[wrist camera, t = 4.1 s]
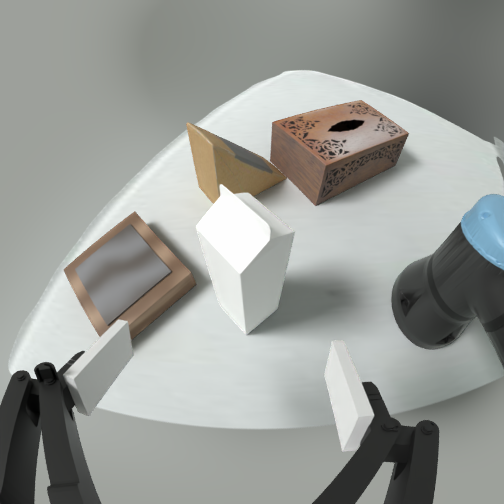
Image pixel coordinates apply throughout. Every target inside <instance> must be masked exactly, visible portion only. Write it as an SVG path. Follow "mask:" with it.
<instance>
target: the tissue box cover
mask: <svg viewBox="0 0 504 504" xmlns="http://www.w3.org/2000/svg"><path fill="white" fill-rule="evenodd" d="M408 134H409V133H408V132H407V131H405V130H404V129H403V128H401V127H400V126H399V125H397V124H396V123H394V122H393V121H392V120H390V119H389V118H387V117H386V116H384V115H383V114H382V113H380V112H379V111H377V110H376V109H374V108H373V107H371V106H370V105H368V104H366V103H365V102H363V101H362V100H359V101H354V102H349V103H344V104H340V105H335V106H331V107H327V108H323V109H318V110H314V111H310V112H307V113H303V114H299V115H295V116H292V117H288V118H285V119H281V120H278V121H275V122H272V139H271V157H270V161H271V162H272V163H273V164H274V165H275V166H276V167H277V168H278V169H279V170H280V171H281V172H282V173H283V174H284V175H285V176H286V177H287V178H288V179H289V180H290V181H291V182H292V183H293V184H294V185H295V186H296V187H297V188H298V189H299V190H300V191H301V192H302V193H303V194H304V195H305V196H306V197H307V198H308V199H309V200H310V201H311V202H312V203H313V204H314V205H315V206H316V205H318V204H320V203H322V202H324V201H326V200H328V199H330V198H332V197H334V196H336V195H338V194H340V193H342V192H344V191H346V190H348V189H350V188H351V187H353V186H355V185H357V184H359V183H361V182H363V181H365V180H367V179H369V178H371V177H373V176H375V175H377V174H379V173H381V172H383V171H385V170H387V169H389V168H391V167H393V166H395V165H396V163H397V160H398V158H399V156H400V153H401V151H402V149H403V146H404V144H405V142H406V139H407V137H408Z"/></svg>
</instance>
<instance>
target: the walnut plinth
mask: <svg viewBox="0 0 504 504" xmlns="http://www.w3.org/2000/svg"><path fill="white" fill-rule="evenodd" d="M64 272H65V274H66V276H67V278H68V280H69V282H70V284H71V286H72V288H73V290H74V292H75V294H76V296H77V298H78V300H79V302H80V304H81V306H82V307H83V309H84V311H85V313H86V315H87V316H88V318H89V320H90V321H91V323H92V325H93V327H94V328H95V330H96V332H97V333H98V335H99V336H100V337H101V336H102V335H103V334H104V333H105V332H106V331H107V330H108V329H109V328H110V327H111V326H112V325H113V324H114V323H115V322H116V321H117V320H118V319H119V320H124V321H128V325H129V332H130V338H131V340H132V339H133V338H135V337H136V336H137V335H138V334H139V333H140V332H142V331H143V330H144V329H145V328H146V327H147V326H148V325H150V324H151V323H152V322H153V321H154V320H155V319H157V318H158V317H159V316H160V315H161V314H162V313H164V312H165V311H166V310H167V309H168V308H169V307H171V306H172V305H173V304H174V303H175V302H176V301H178V300H179V299H180V298H181V297H182V296H184V295H185V294H186V293H187V292H188V291H189V290H191V289H192V288H193V287H194V286H195V285H196V282H195V280H194V278H193V275H192V273H191V272H190V271H189V270H188V268H187V267H186V266H185V265H184V264H183V263H182V262H181V261H180V260H179V259H178V258H177V257H176V256H175V255H174V254H173V253H172V252H171V251H170V250H169V248H168V247H167V246H166V245H165V244H164V243H163V242H162V241H161V240H160V239H159V238H158V237H157V235H156V234H155V233H154V232H153V231H152V230H151V229H150V228H149V227H148V226H147V224H146V223H145V222H144V221H143V220H142V219H141V218H140V217H139V216H138V214H137V213H136V212H133V213H132V214H131V215H129V216H128V217H127V218H125V219H124V220H123V221H121V222H120V223H119V224H118V225H116V226H115V227H114V228H112V229H111V230H110V231H109V232H107V233H106V234H105V235H104V236H102V237H101V238H100V239H99V240H98V241H96V242H95V243H94V244H93V245H91V246H90V247H89V248H88V249H87V250H85V251H84V252H83V253H82V254H81V255H80V256H78V257H77V258H76V259H75V260H74V261H73V262H72V263H70V264H69V265H68V266H67V267H66V268H65V269H64Z"/></svg>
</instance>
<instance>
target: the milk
mask: <svg viewBox="0 0 504 504" xmlns="http://www.w3.org/2000/svg"><path fill="white" fill-rule="evenodd" d="M219 187H220V197H219V198H218V200H217V201H216V202H215V203H214V205H213V206H212V207H211V208H210V209H209V211H208V212H207V213H206V214H205V216H204V217H203V218H202V219H201V221H200V222H199V223H198V224H197V226H196V230H197V233H198V237H199V240H200V244H201V247H202V250H203V254H204V257H205V260H206V264H207V267H208V270H209V274H210V277H211V280H212V283H213V287H214V290H215V293H216V296H217V299H218V302H219V305H220V306H221V308H222V309H223V310H224V311H225V312H226V313H227V314H228V316H229V317H230V318H231V319H232V320H233V321H234V322H235V323H236V325H237V326H238V327H239V328H240V329H241V330H242V331H243V332H244V333H245V334H246V335H247V334H248V333H250V332H251V331H252V330H253V329H254V328H256V327H257V326H258V325H259V324H260V323H262V322H263V321H264V320H265V319H266V318H267V317H269V316H270V315H271V314H272V313H273V312H274V311H276V310H277V309H278V305H279V301H280V296H281V292H282V288H283V283H284V279H285V274H286V270H287V265H288V261H289V256H290V252H291V247H292V242H293V238H294V233H295V232H294V231H293V230H292V229H291V228H290V227H289V226H288V225H286V224H285V223H284V222H283V221H282V220H281V219H279V218H278V217H277V216H276V215H275V214H274V213H272V212H271V211H270V210H269V209H268V208H266V207H265V206H264V205H263V204H262V203H260V202H259V201H258V200H257V199H256V198H254V197H253V196H252V195H251V194H249V193H238V194H233V193H232V192H231V191H229V190H228V189H227V188H226V187H225V186H223V185H222V184H221V185H220V186H219Z"/></svg>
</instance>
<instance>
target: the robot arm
mask: <svg viewBox="0 0 504 504" xmlns="http://www.w3.org/2000/svg"><path fill="white" fill-rule="evenodd" d="M392 309H393V313H394V317H395V320H396V322H397V324H398V326H399V328H400V329H401V331H402V332H403V334H404V335H405V336H406V337H407V338H408V339H409V340H410V341H411V342H412V343H414V344H415V345H417V346H419V347H422V348H425V349H438V348H441V347H443V346H446V345H448V344H450V343H451V342H453V341H454V340H455V339H457V338H458V337H459V335H460V334H461V333H462V332H463V330H464V329H465V328H466V326H467V325H468V324H469V322H470V321H471V320H472V319H473V318H475V317H476V316H478V318H479V320H480V322H481V323H482V325H483V327H484V329H485V331H486V333H487V335H488V337H489V338H490V340H491V342H492V344H493V346H494V348H495V350H496V352H497V355H498V357H499V359H500V361H501V363H502V365H503V368H504V196H501V195H497V194H489V195H486V196H484V197H482V198H481V199H480V200H479V201H478V202H477V203H476V204H475V205H474V206H473V208H472V209H471V210H470V211H468V212H466V213H465V214H464V216H463V217H462V220H461V222H460V223H459V225H458V226H457V227H456V228H455V230H454V231H453V232H452V233H451V234H450V236H449V237H448V238H447V239H446V240H445V241H444V242H443V244H442V245H441V246H440V247H439V248H438V249H437V250H436V251H435V253H434V254H432V255H430V256H427V257H425V258H422V259H420V260H417V261H415V262H413V263H411V264H410V265H409V266H407V267H406V268H405V269H404V270H403V272H402V273H401V274H400V275H399V276H398V278H397V279H396V281H395V284H394V286H393V290H392ZM132 356H133V349H132V344H131V338H130V332H129V325H128V321H124V320H119V319H118V320H117V321H116V322H115V323H114V324H113V325H112V326H111V327H110V328H109V329H108V330H107V331H106V332H105V333H104V334H103V335H102V336H101V337H100V338H99V339H98V340H97V341H96V342H95V343H94V344H93V345H92V346H91V347H90V348H89V349H88V350H87V351H86V352H85V351H81V352H79V353H77V354H75V355H74V356H73V357H72V358H71V360H69V361H68V362H67V363H66V364H65V365H64V366H63V367H62V368H61V369H60V370H59V371H58V372H56V369H55V367H54V365H53V364H52V363H49V362H44V363H40V364H38V365H37V366H36V367H35V369H34V372H35V374H36V377H37V379H31V377H30V375H29V373H28V372H27V371H24V370H22V371H17V372H16V373H14V374H13V376H12V377H11V380H10V382H9V385H8V387H7V390H6V392H5V395H4V397H3V400H2V403H1V405H0V504H34V494H35V476H36V465H37V456H38V449H39V442H40V435H41V430H42V438H43V445H44V452H45V459H46V464H47V469H48V474H49V479H50V484H51V485H50V486H48V487H47V490H48V496H49V499H50V503H51V504H101V502H100V499H99V497H98V494H97V492H96V489H95V487H94V484H93V481H92V479H91V476H90V472H89V469H88V466H87V463H86V460H85V457H84V453H83V450H82V446H81V442H80V438H79V434H78V430H77V426H76V422H75V417H74V412H73V411H72V408H73V407H74V405H75V406H76V408H77V410H78V412H79V413H82V414H84V415H87V416H89V415H90V414H91V413H92V411H93V410H94V408H95V407H96V406H97V404H98V403H99V401H100V400H101V399H102V397H103V396H104V394H105V393H106V392H107V390H108V389H109V388H110V386H111V385H112V383H113V382H114V381H115V379H116V378H117V377H118V375H119V374H120V373H121V371H122V370H123V369H124V367H125V366H126V364H127V363H128V362H129V360H130V359H131V358H132ZM324 376H325V380H326V384H327V388H328V392H329V396H330V401H331V405H332V409H333V413H334V417H335V422H336V426H337V430H338V435H339V439H340V444H341V448H342V451H343V452H344V451H354V450H357V449H358V447H359V445H361V446H360V447H359V449H358V450H357V451H356V453H355V454H354V455H353V457H352V458H351V459H350V461H349V462H348V463H347V464H346V466H345V467H344V468H343V469H342V471H341V472H340V473H339V474H338V475H337V477H336V478H335V479H334V480H333V481H332V483H331V484H330V485H329V486H328V487H327V488H326V489H325V490H324V491H323V493H322V494H321V495H320V496H319V497H318V498H317V499H316V500H315V501H314V502H313V503H312V504H355V503H356V502H357V500H358V499H359V497H360V496H361V495H362V493H363V492H364V490H365V489H366V488H367V486H368V485H369V483H370V482H371V480H372V479H373V477H374V476H375V474H376V473H377V471H378V470H379V468H380V466H381V465H382V463H383V462H395V464H394V468H393V472H392V476H391V480H390V484H389V487H388V491H387V495H386V498H385V501H384V504H432V503H433V498H434V491H435V483H436V475H437V464H438V463H437V462H438V447H439V428H438V426H437V425H436V424H435V423H434V422H432V421H429V420H423V421H421V422H419V423H418V424H417V425H416V427H409V426H402V425H401V424H400V423H399V421H397V420H396V419H394V418H391V417H390V415H389V412H388V410H387V408H386V406H385V403H384V401H383V400H382V397H381V395H380V392H379V390H378V388H377V387H376V386H375V385H374V384H373V383H372V382H361V380H360V378H359V375H358V373H357V371H356V368H355V366H354V364H353V361H352V359H351V356H350V354H349V352H348V349H347V347H346V345H345V342H344V341H335V340H332V343H331V347H330V352H329V356H328V361H327V365H326V369H325V373H324Z"/></svg>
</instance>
